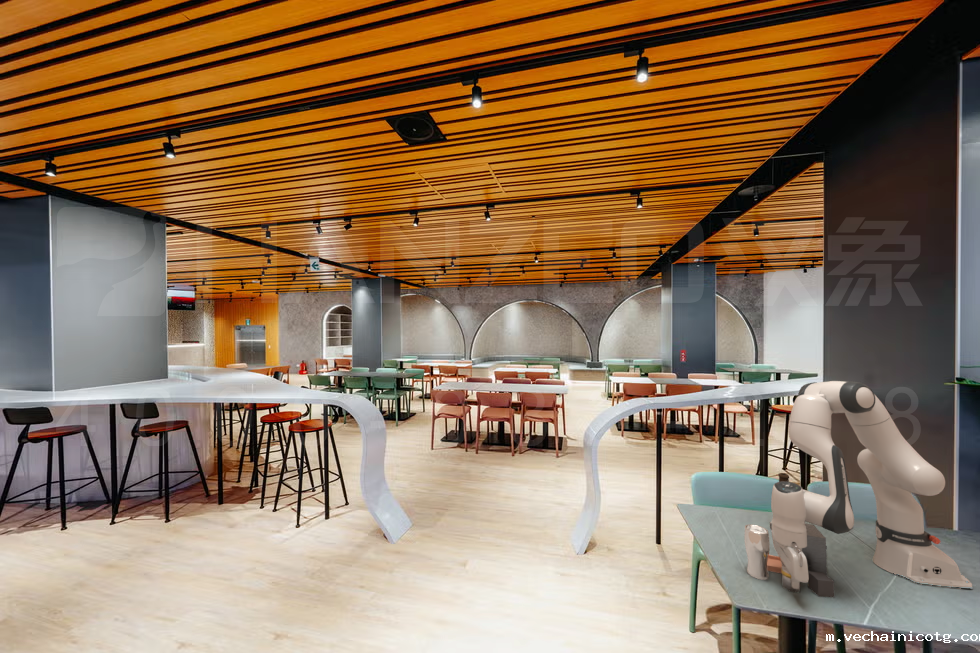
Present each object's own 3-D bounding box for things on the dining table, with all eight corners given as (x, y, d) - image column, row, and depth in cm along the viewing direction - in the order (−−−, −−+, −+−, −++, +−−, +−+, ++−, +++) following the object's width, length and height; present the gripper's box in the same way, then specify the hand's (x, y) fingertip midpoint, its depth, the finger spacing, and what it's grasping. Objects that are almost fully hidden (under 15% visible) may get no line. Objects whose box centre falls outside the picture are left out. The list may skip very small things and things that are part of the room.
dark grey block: (816, 565, 133) (815, 524, 134) (829, 582, 124) (827, 538, 124) (785, 560, 136) (784, 520, 137) (795, 576, 127) (794, 533, 128)
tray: (788, 563, 134) (788, 558, 135) (796, 576, 127) (796, 570, 127) (761, 558, 137) (760, 553, 138) (767, 570, 130) (767, 565, 130)
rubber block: (823, 588, 121) (823, 572, 121) (834, 597, 117) (833, 581, 117) (808, 587, 121) (808, 571, 122) (818, 596, 117) (818, 579, 117)
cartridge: (797, 585, 122) (796, 566, 123) (802, 594, 118) (802, 574, 118) (779, 582, 124) (779, 563, 124) (784, 590, 120) (784, 571, 120)
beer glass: (763, 583, 123) (762, 536, 124) (740, 571, 130) (739, 526, 130) (774, 577, 127) (773, 531, 127) (752, 566, 133) (751, 522, 133)
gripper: (814, 554, 111) (816, 603, 110) (790, 523, 130) (791, 565, 129) (788, 550, 113) (789, 597, 113) (767, 520, 132) (769, 560, 132)
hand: (790, 579), depth 121 cm, fingers open, 6 cm apart
